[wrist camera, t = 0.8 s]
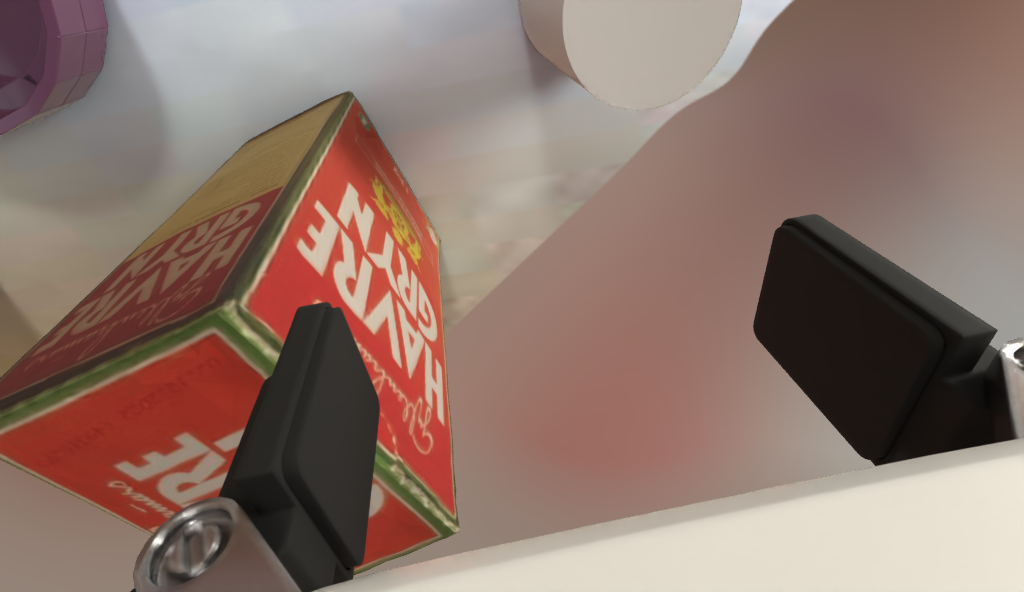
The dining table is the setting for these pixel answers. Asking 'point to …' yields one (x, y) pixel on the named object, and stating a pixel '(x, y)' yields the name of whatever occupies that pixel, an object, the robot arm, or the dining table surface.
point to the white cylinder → (632, 44)
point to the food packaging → (249, 336)
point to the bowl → (47, 56)
